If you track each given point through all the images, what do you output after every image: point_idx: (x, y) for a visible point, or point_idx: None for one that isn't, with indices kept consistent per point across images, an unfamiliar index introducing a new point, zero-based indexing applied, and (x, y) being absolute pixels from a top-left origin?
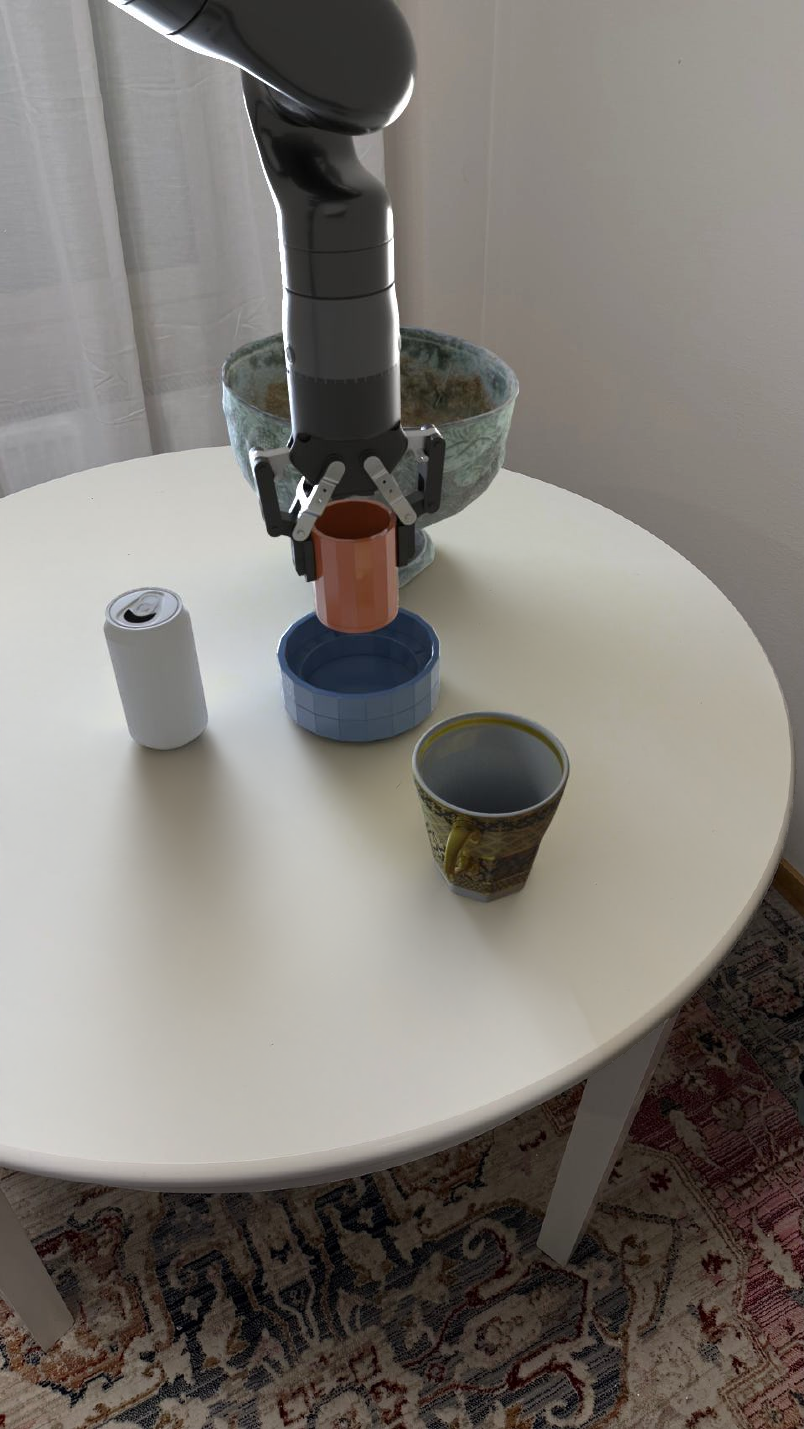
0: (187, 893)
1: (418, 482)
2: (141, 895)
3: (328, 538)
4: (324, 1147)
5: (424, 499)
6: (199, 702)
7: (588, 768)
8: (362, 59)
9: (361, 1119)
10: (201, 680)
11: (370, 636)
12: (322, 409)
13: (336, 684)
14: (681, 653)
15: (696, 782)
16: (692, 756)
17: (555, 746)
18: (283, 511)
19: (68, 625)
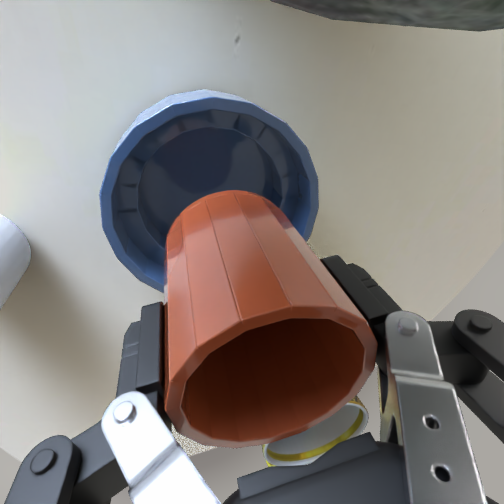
0: (88, 386)
1: (493, 369)
2: (53, 392)
3: (219, 445)
4: (190, 454)
5: (459, 394)
6: (15, 280)
7: (372, 276)
8: None
9: (205, 446)
10: (3, 272)
11: (229, 129)
12: None
13: (180, 182)
14: None
15: (426, 284)
16: (439, 264)
17: (363, 415)
18: (93, 472)
19: None
